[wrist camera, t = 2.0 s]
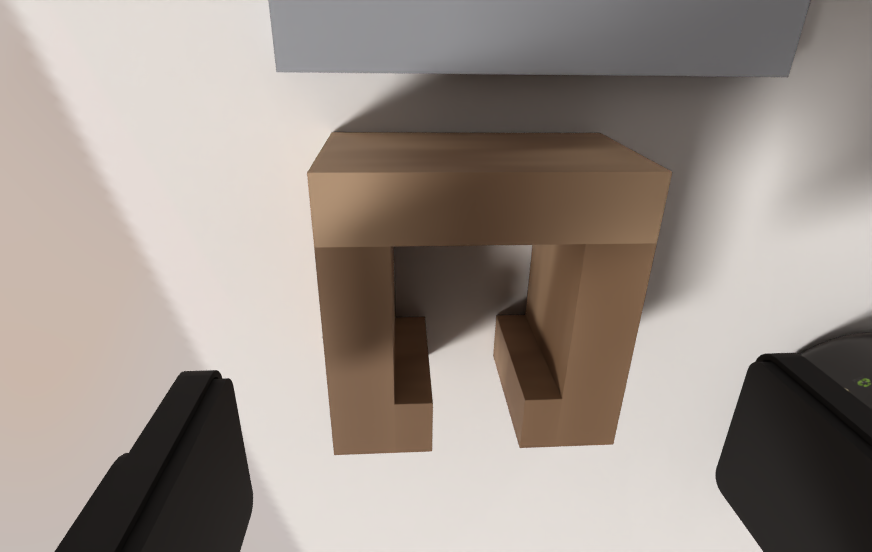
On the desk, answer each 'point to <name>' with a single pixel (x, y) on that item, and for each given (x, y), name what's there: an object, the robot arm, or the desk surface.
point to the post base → (539, 36)
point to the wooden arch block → (471, 226)
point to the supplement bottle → (847, 363)
